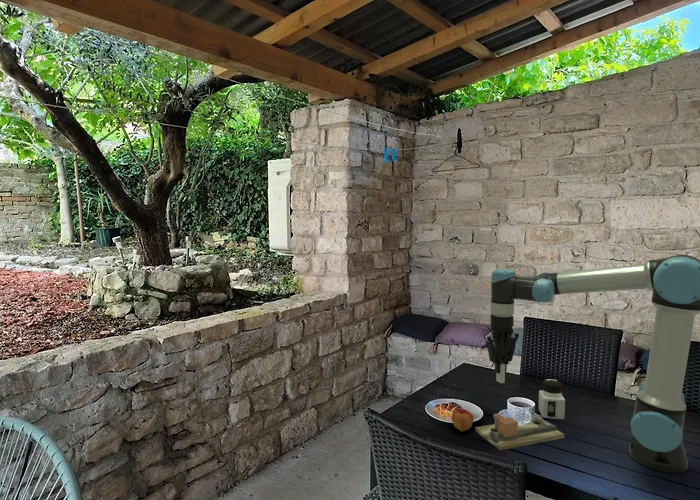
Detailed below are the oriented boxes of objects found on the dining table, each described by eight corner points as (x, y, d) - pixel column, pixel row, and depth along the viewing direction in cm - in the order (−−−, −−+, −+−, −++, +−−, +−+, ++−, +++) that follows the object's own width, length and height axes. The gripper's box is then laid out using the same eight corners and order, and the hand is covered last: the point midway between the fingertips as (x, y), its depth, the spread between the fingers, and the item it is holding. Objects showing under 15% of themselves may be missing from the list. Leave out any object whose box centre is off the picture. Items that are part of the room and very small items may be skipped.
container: (564, 419, 166) (566, 385, 165) (542, 417, 168) (543, 384, 167) (559, 410, 174) (560, 378, 173) (538, 409, 175) (539, 376, 174)
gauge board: (564, 437, 153) (564, 427, 153) (500, 450, 145) (500, 439, 144) (535, 420, 166) (535, 410, 166) (475, 430, 158) (475, 420, 158)
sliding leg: (517, 438, 149) (517, 421, 149) (504, 440, 148) (505, 424, 147) (501, 426, 157) (501, 411, 157) (489, 429, 156) (489, 413, 155)
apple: (460, 436, 154) (461, 414, 153) (447, 427, 160) (447, 406, 160) (477, 432, 157) (477, 410, 156) (463, 423, 164) (464, 402, 163)
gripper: (510, 311, 159) (509, 375, 161) (479, 313, 155) (477, 380, 156) (525, 315, 152) (523, 383, 153) (492, 318, 147) (490, 388, 149)
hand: (500, 381), depth 155 cm, fingers closed
